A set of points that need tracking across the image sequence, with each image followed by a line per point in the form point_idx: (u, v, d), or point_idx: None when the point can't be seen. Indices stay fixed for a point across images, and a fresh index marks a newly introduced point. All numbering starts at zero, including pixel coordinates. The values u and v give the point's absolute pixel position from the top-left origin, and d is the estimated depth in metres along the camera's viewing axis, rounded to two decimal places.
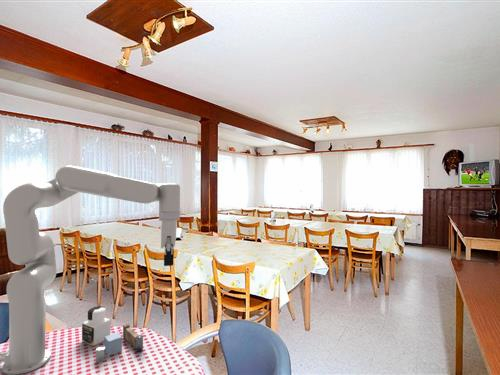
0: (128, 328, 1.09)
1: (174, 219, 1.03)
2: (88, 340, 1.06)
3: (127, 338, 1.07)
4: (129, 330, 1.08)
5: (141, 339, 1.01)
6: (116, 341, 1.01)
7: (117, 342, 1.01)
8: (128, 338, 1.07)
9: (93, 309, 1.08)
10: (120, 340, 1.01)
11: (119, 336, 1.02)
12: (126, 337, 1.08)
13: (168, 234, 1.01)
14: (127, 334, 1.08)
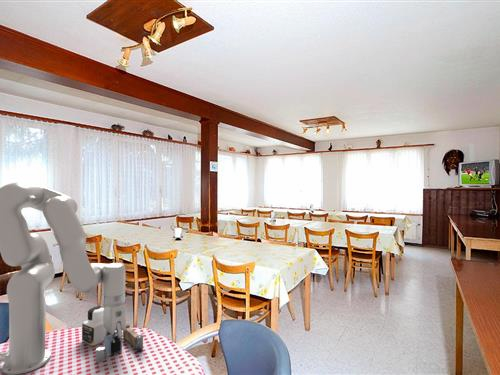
0: (128, 328, 1.09)
1: None
2: (88, 340, 1.06)
3: (127, 338, 1.07)
4: (129, 330, 1.08)
5: (141, 339, 1.01)
6: None
7: None
8: (128, 338, 1.07)
9: (93, 309, 1.08)
10: None
11: None
12: (126, 337, 1.08)
13: None
14: (127, 334, 1.08)
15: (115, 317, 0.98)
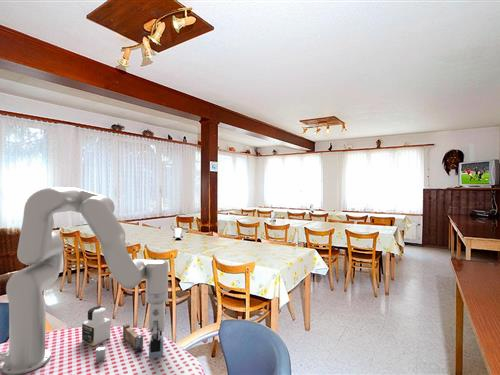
0: (128, 328, 1.09)
1: None
2: (88, 340, 1.06)
3: (127, 338, 1.07)
4: (129, 330, 1.08)
5: (141, 339, 1.01)
6: None
7: None
8: (128, 338, 1.07)
9: (93, 309, 1.08)
10: (160, 345, 0.99)
11: (161, 340, 0.99)
12: (126, 337, 1.08)
13: None
14: (127, 334, 1.08)
15: (152, 315, 0.96)
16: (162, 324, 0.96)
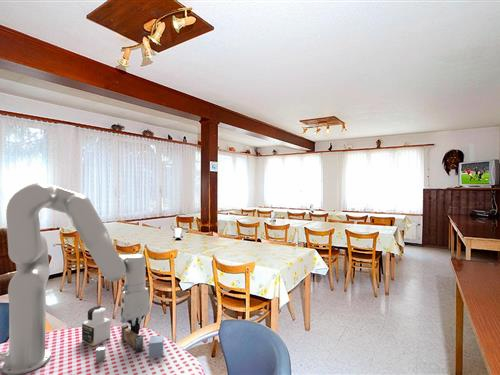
0: (127, 328, 1.09)
1: None
2: (88, 340, 1.06)
3: (126, 338, 1.07)
4: (128, 330, 1.07)
5: (141, 339, 1.01)
6: (156, 345, 0.98)
7: (157, 346, 0.98)
8: (127, 339, 1.07)
9: (93, 309, 1.08)
10: (160, 345, 0.99)
11: (161, 340, 0.99)
12: (125, 338, 1.08)
13: None
14: (126, 335, 1.07)
15: (121, 302, 1.07)
16: (125, 313, 1.05)
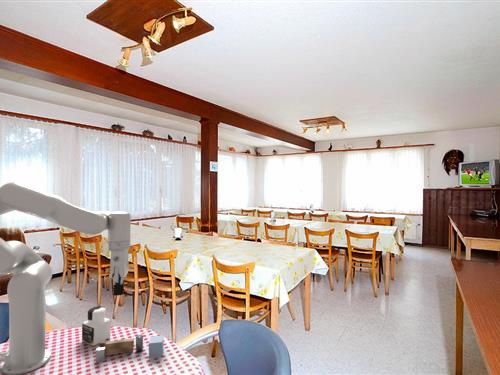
0: (108, 342, 0.99)
1: None
2: (88, 340, 1.06)
3: (112, 351, 0.99)
4: (113, 342, 0.99)
5: (141, 339, 1.01)
6: (156, 345, 0.98)
7: (157, 346, 0.98)
8: (114, 350, 0.99)
9: (93, 309, 1.08)
10: (160, 345, 0.99)
11: (161, 340, 0.99)
12: (109, 352, 0.98)
13: None
14: (111, 348, 0.99)
15: (113, 261, 1.00)
16: (123, 270, 1.01)
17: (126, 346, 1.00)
